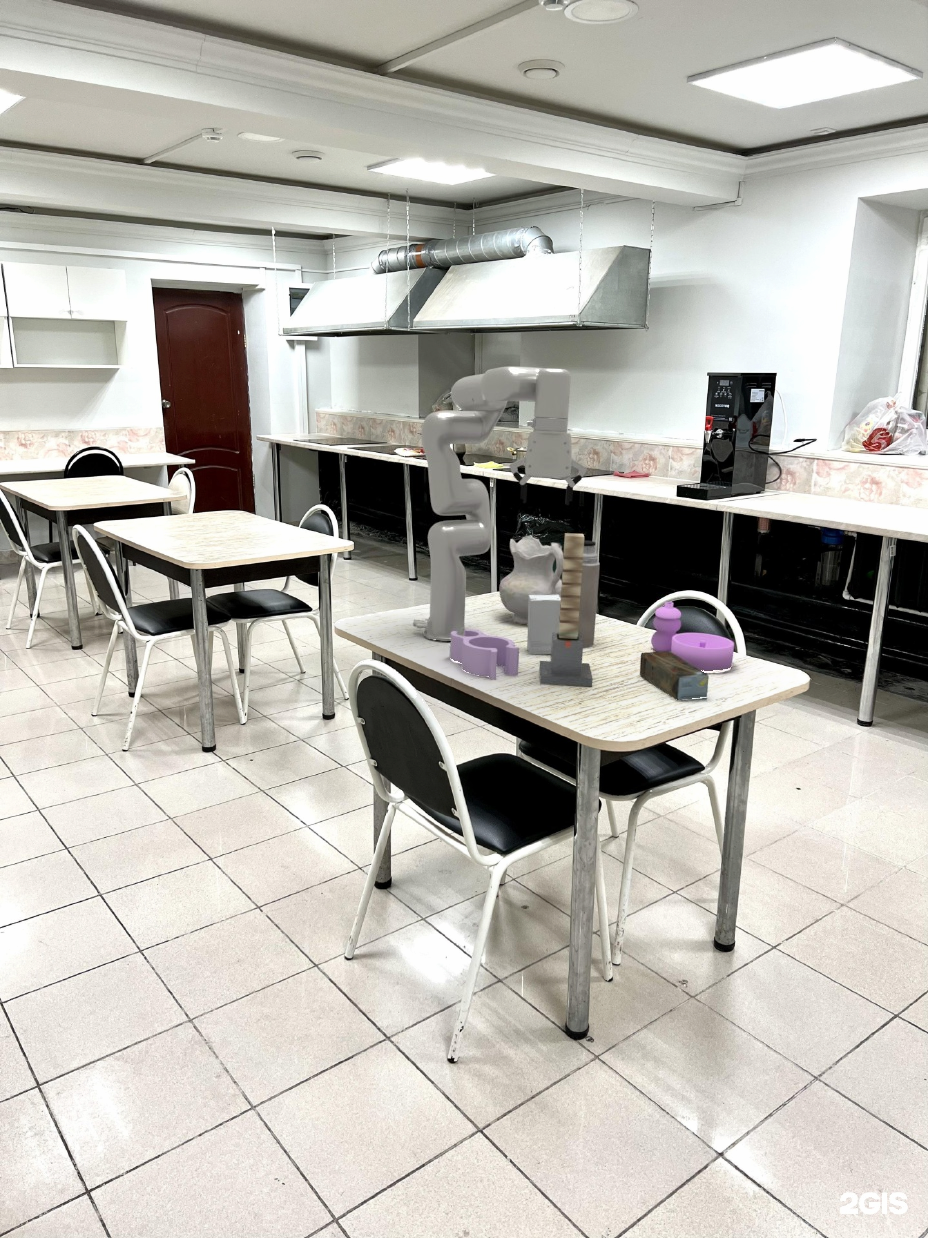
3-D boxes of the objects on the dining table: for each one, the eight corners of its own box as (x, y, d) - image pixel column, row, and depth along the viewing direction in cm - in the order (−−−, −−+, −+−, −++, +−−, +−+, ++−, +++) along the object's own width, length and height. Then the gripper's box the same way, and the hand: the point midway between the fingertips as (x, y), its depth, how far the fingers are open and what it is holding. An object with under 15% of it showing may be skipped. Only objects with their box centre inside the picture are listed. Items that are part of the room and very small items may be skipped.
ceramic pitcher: (581, 626, 269) (590, 542, 264) (542, 633, 254) (551, 544, 249) (523, 613, 282) (531, 533, 278) (483, 618, 268) (490, 534, 263)
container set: (744, 669, 229) (750, 619, 226) (698, 677, 222) (704, 624, 219) (676, 644, 250) (681, 597, 247) (633, 650, 243) (637, 601, 240)
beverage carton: (676, 702, 203) (678, 674, 202) (637, 676, 221) (639, 650, 220) (707, 700, 206) (710, 672, 204) (666, 674, 223) (669, 648, 222)
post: (558, 638, 212) (565, 536, 207) (558, 633, 217) (564, 533, 211) (577, 639, 212) (584, 536, 206) (576, 634, 216) (583, 534, 211)
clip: (437, 659, 228) (438, 633, 226) (478, 653, 235) (479, 627, 233) (484, 682, 212) (485, 653, 210) (526, 674, 219) (528, 646, 217)
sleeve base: (540, 683, 212) (542, 642, 209) (539, 668, 223) (541, 629, 221) (591, 686, 211) (595, 645, 208) (588, 671, 222) (591, 631, 220)
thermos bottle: (563, 638, 251) (570, 537, 244) (593, 640, 250) (600, 539, 243) (564, 646, 243) (571, 542, 236) (594, 648, 243) (602, 544, 236)
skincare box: (556, 649, 241) (560, 594, 237) (560, 655, 235) (563, 599, 231) (525, 648, 240) (528, 593, 237) (527, 654, 235) (530, 598, 231)
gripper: (511, 425, 199) (507, 503, 203) (590, 428, 198) (585, 507, 202) (511, 423, 206) (508, 499, 210) (588, 427, 205) (583, 503, 209)
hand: (545, 503), depth 206 cm, fingers open, 9 cm apart
